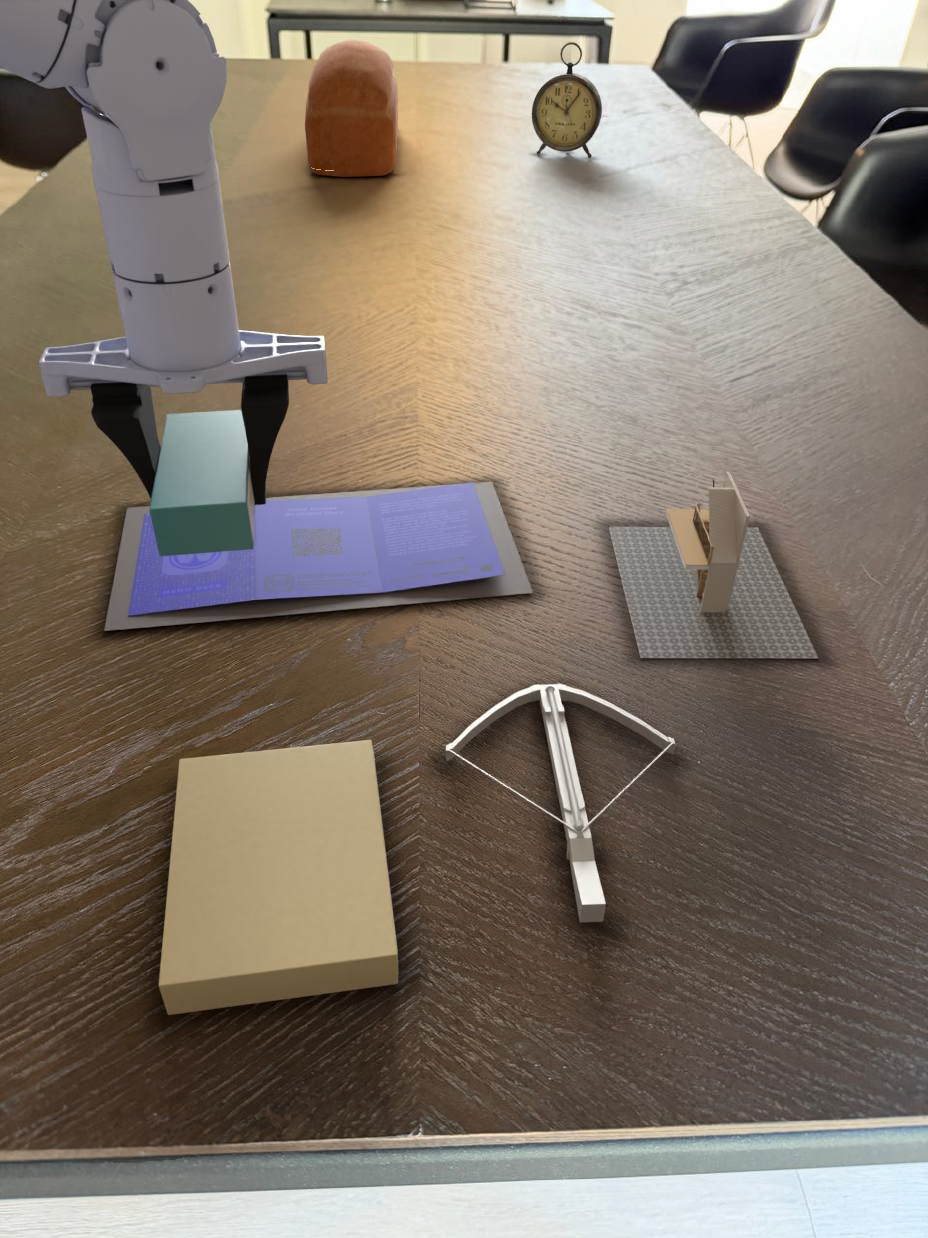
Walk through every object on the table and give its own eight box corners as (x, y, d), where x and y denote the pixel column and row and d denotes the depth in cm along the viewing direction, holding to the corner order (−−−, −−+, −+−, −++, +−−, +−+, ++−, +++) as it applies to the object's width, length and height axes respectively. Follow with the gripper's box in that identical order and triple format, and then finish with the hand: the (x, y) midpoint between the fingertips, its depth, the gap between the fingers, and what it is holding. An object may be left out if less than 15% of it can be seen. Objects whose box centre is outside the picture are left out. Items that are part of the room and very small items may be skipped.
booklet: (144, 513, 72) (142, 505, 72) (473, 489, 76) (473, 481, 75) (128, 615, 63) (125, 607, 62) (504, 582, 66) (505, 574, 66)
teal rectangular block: (159, 557, 52) (148, 509, 50) (174, 457, 61) (166, 413, 59) (254, 549, 53) (247, 502, 51) (256, 451, 61) (250, 408, 59)
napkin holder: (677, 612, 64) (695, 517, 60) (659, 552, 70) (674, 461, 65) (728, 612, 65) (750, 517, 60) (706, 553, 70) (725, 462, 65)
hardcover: (168, 1017, 42) (158, 986, 40) (186, 791, 52) (179, 758, 50) (399, 986, 43) (398, 954, 42) (374, 771, 53) (372, 739, 52)
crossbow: (441, 707, 58) (441, 679, 57) (649, 701, 59) (654, 674, 58) (456, 929, 45) (456, 900, 44) (723, 918, 46) (731, 889, 44)
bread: (305, 177, 146) (296, 60, 137) (321, 128, 172) (314, 25, 162) (396, 178, 147) (394, 61, 137) (399, 128, 172) (397, 27, 163)
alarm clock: (528, 156, 159) (535, 42, 149) (534, 148, 163) (540, 37, 153) (595, 161, 157) (606, 46, 147) (598, 153, 161) (609, 41, 151)
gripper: (0, 298, 44) (70, 546, 53) (321, 287, 46) (339, 527, 54) (30, 248, 49) (89, 479, 58) (316, 240, 51) (333, 465, 60)
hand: (211, 499), depth 57 cm, fingers closed on teal rectangular block, 5 cm apart
